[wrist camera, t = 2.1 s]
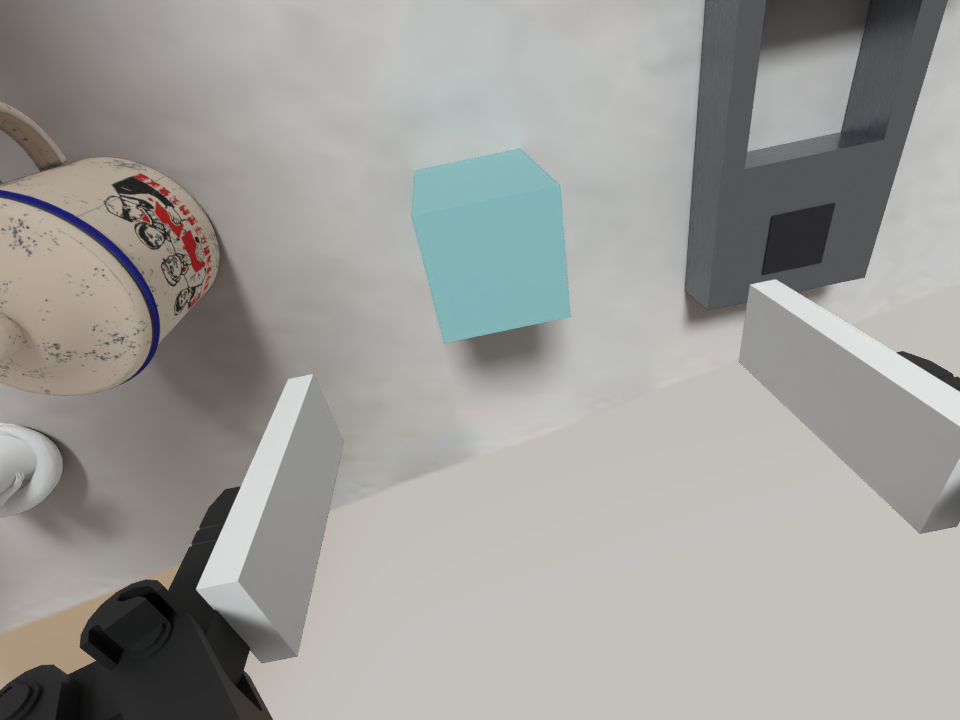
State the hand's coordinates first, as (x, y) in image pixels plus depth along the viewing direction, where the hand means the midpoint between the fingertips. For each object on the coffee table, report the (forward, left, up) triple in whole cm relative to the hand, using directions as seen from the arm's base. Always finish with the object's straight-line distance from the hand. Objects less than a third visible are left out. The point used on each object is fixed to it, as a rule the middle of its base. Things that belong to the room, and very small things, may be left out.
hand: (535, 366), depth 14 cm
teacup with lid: (-4, -19, -16) cm, 26 cm away
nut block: (0, 0, -16) cm, 16 cm away
